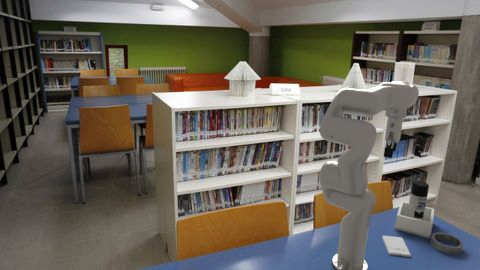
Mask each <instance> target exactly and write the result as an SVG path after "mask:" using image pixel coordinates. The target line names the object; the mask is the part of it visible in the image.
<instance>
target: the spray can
mask: <svg viewBox="0 0 480 270" xmlns="http://www.w3.org/2000/svg"><path fill="white" fill-rule="evenodd" d="M429 188H430V185H429V184H428V183H427V182H425V181H422V180H413V181H412V183H411V190H410V195H409V202H408V203H409V207H408V213H407V217H411V218H415V219H419V220H423V218H424V212H425V207H427V202H428V195H429Z"/></svg>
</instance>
